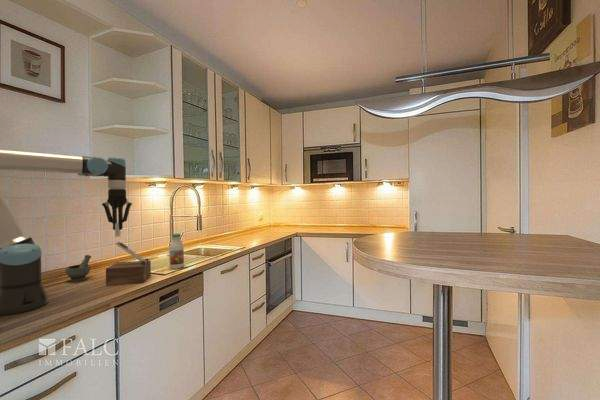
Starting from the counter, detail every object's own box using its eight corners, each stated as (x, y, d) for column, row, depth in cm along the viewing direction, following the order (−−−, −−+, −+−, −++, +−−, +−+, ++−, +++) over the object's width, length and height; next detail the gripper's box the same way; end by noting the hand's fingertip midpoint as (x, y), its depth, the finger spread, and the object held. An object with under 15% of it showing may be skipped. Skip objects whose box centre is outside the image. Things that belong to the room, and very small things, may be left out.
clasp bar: (144, 264, 143) (146, 262, 144) (115, 244, 140) (117, 242, 140) (146, 262, 147) (148, 260, 147) (117, 243, 144) (119, 241, 144)
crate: (143, 282, 139) (143, 262, 139) (103, 285, 134) (102, 265, 134) (150, 275, 152) (150, 256, 152) (114, 277, 148) (114, 258, 148)
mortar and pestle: (74, 283, 138) (73, 259, 138) (61, 282, 141) (60, 257, 141) (97, 277, 149) (97, 254, 148) (84, 275, 152) (84, 253, 152)
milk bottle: (166, 268, 166) (166, 234, 165) (176, 265, 173) (176, 232, 172) (176, 270, 163) (176, 235, 162) (186, 266, 170) (186, 233, 170)
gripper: (134, 189, 147) (134, 234, 147) (105, 189, 144) (106, 235, 144) (129, 188, 140) (130, 236, 140) (98, 188, 136) (99, 237, 137)
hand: (117, 236), depth 142 cm, fingers closed
